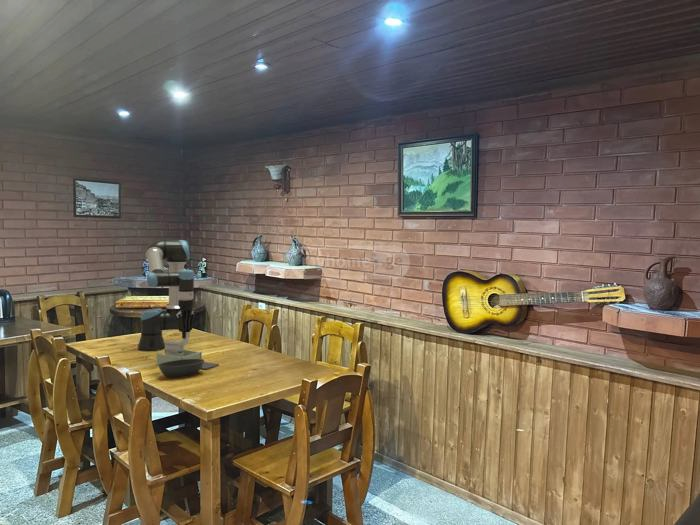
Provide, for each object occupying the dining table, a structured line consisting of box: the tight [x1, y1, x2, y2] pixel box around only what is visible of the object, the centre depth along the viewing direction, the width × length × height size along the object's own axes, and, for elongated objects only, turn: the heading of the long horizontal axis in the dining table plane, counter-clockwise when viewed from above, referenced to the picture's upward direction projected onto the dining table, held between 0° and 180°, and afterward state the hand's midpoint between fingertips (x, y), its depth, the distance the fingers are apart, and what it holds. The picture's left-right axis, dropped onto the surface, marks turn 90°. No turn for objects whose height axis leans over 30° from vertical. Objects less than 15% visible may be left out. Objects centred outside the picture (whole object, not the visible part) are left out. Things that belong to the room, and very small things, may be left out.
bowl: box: [157, 358, 205, 379], centre depth 243 cm, size 12×22×6 cm, turn 128°
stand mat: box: [200, 361, 220, 371], centre depth 259 cm, size 10×10×1 cm
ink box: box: [164, 340, 185, 357], centre depth 264 cm, size 8×5×12 cm, turn 84°
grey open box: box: [156, 349, 203, 366], centre depth 262 cm, size 17×14×6 cm
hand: (185, 344), depth 260 cm, fingers closed
